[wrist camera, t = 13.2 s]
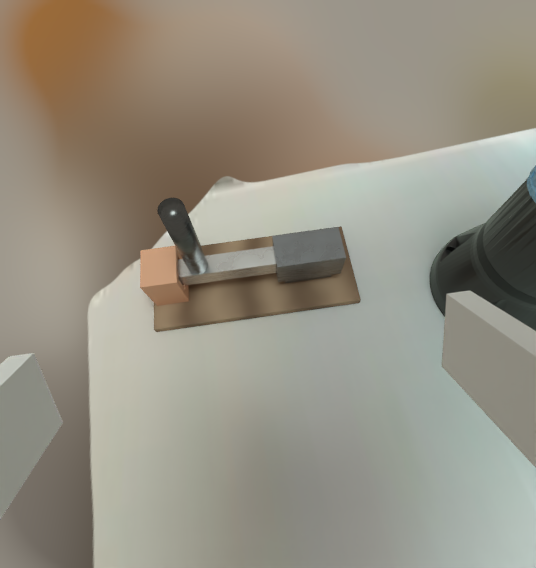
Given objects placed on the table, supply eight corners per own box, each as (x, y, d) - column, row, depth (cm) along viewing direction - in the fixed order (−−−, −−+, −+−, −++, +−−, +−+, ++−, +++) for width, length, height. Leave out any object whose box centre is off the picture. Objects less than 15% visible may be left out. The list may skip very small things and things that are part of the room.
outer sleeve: (332, 249, 48) (338, 226, 43) (339, 277, 46) (346, 257, 41) (273, 258, 48) (272, 235, 43) (277, 286, 46) (277, 267, 41)
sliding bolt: (291, 253, 45) (295, 181, 33) (294, 270, 44) (300, 202, 32) (159, 271, 45) (112, 205, 32) (159, 289, 44) (111, 228, 31)
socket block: (187, 268, 48) (175, 245, 42) (189, 301, 46) (176, 282, 40) (156, 272, 47) (140, 250, 42) (157, 305, 45) (140, 287, 40)
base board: (340, 230, 50) (341, 226, 49) (359, 302, 46) (360, 300, 45) (155, 255, 50) (153, 252, 49) (156, 331, 45) (154, 329, 44)
